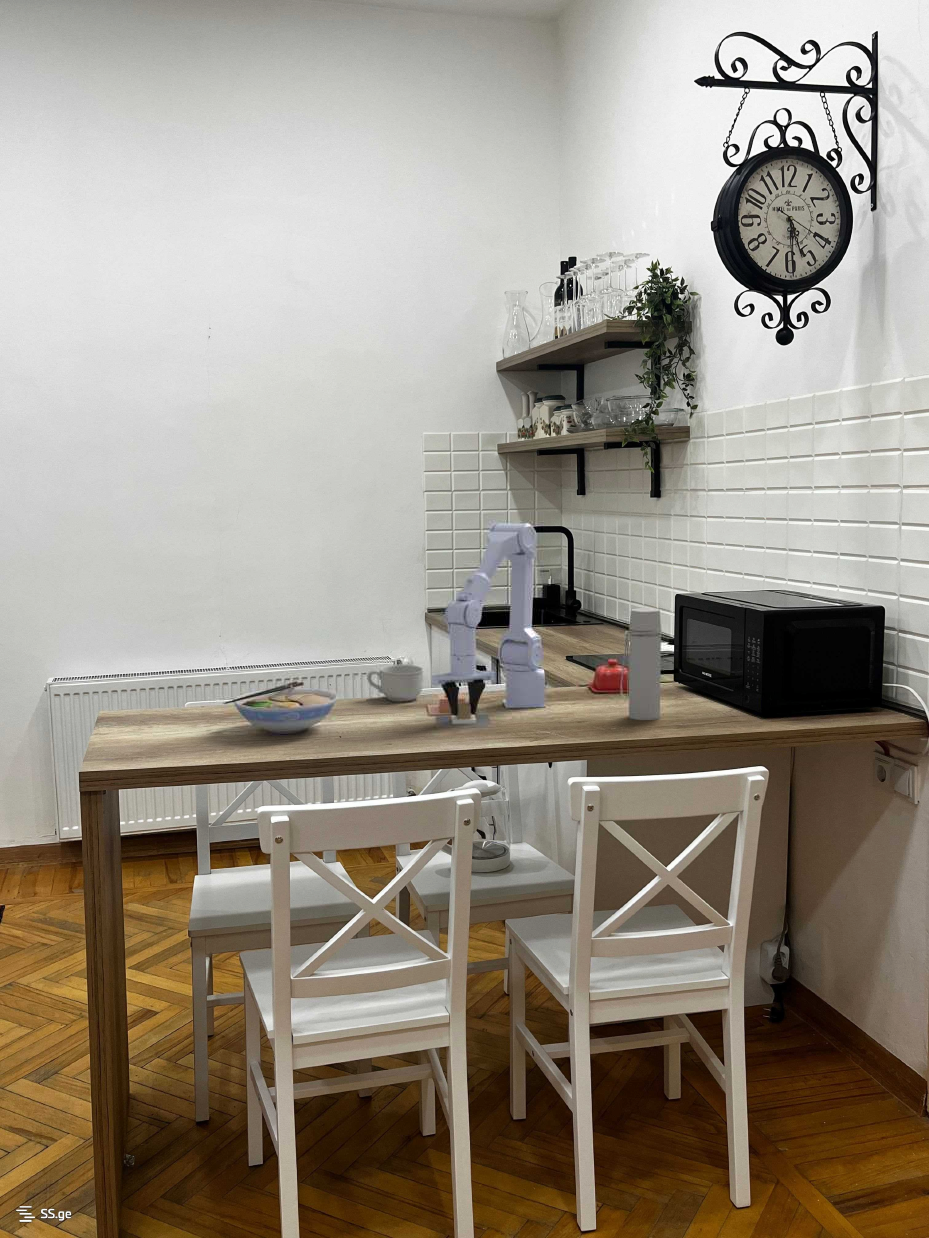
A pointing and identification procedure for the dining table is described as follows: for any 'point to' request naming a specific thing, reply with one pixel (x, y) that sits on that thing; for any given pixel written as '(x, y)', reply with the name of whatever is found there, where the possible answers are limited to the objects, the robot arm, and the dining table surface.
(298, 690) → the ramen bowl
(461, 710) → the lid
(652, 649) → the water bottle
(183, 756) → the dining table surface
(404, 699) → the teacup
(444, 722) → the mat
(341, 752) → the dining table surface
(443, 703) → the salmon stepped square block
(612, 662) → the butter dish
